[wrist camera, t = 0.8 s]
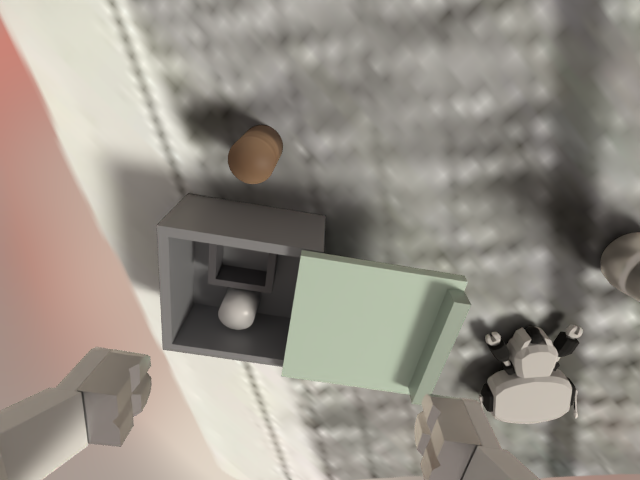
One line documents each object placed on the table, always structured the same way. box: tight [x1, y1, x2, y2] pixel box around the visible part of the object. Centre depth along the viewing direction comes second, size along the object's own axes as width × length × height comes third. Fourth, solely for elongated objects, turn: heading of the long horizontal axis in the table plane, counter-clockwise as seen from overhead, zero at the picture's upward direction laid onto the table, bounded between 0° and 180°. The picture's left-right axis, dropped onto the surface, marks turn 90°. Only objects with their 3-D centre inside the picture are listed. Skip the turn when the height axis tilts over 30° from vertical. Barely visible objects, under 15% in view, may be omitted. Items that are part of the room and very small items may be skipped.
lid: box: [281, 250, 471, 405], centre depth 35 cm, size 15×15×3 cm
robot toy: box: [479, 325, 583, 424], centre depth 48 cm, size 12×4×15 cm
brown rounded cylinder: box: [228, 125, 283, 184], centre depth 34 cm, size 4×4×6 cm
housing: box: [157, 193, 326, 367], centre depth 40 cm, size 15×15×8 cm
